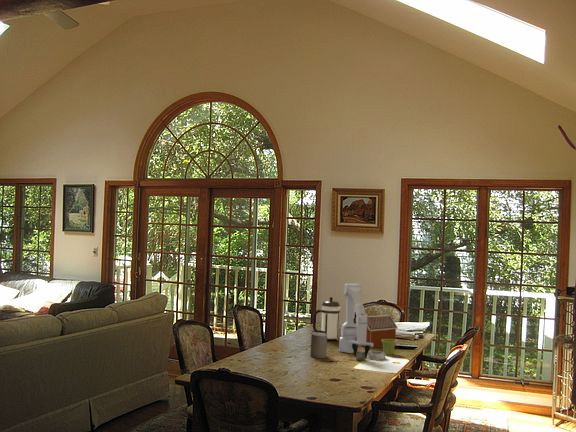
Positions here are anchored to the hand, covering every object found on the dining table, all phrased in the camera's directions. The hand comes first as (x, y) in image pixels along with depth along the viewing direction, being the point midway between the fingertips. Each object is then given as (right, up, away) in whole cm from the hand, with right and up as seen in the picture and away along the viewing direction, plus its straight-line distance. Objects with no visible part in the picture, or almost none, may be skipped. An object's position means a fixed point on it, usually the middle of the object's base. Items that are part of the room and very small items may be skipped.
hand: (360, 357), depth 362 cm
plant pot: (+20, -3, +19) cm, 28 cm away
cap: (0, -1, 0) cm, 1 cm away
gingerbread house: (+16, -3, +49) cm, 52 cm away
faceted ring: (+10, -2, +6) cm, 12 cm away
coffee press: (-16, -2, +59) cm, 61 cm away
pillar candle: (-25, -1, +5) cm, 26 cm away
